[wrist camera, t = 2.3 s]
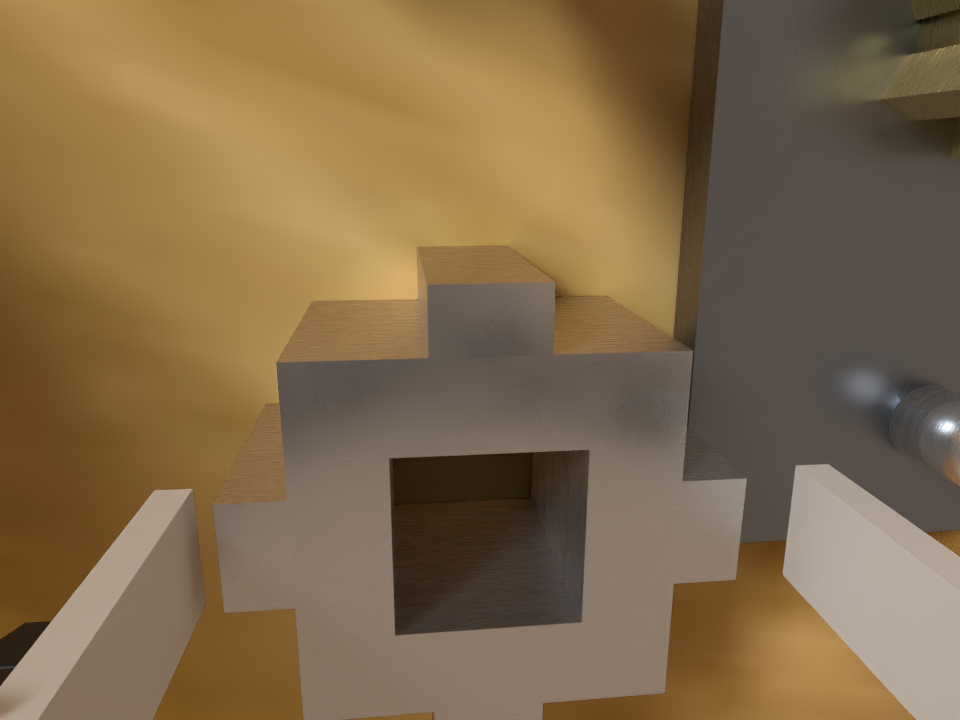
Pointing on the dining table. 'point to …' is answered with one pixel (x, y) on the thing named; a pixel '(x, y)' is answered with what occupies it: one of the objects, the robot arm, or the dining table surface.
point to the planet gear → (476, 524)
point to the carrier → (826, 250)
